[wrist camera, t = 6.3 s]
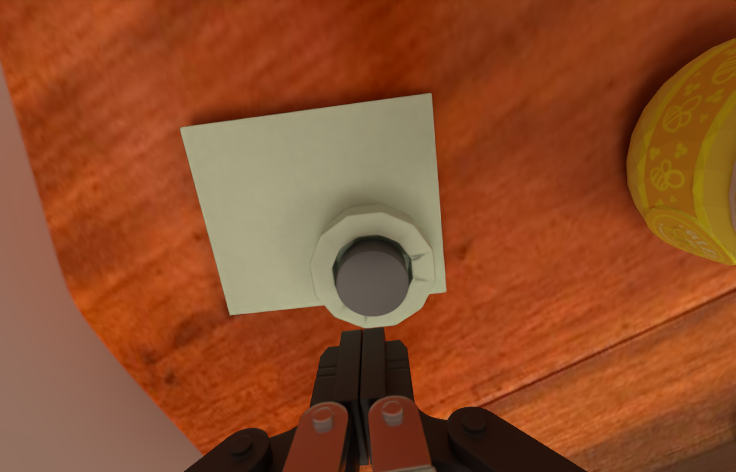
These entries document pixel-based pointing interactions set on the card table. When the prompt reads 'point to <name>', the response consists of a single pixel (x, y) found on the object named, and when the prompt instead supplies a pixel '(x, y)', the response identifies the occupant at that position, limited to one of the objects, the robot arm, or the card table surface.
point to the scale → (319, 201)
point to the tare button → (372, 278)
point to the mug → (690, 157)
